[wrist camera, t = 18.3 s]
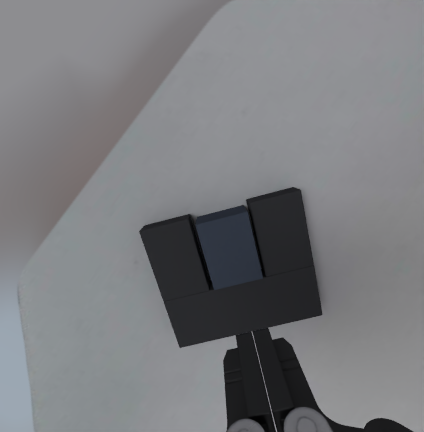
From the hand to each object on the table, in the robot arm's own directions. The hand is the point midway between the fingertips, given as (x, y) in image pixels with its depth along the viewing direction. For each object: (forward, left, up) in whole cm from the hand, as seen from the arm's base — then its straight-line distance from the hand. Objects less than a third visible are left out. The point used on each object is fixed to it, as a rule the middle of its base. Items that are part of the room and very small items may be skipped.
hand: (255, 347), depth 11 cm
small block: (+1, 0, -16) cm, 15 cm away
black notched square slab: (+3, 0, -16) cm, 16 cm away
